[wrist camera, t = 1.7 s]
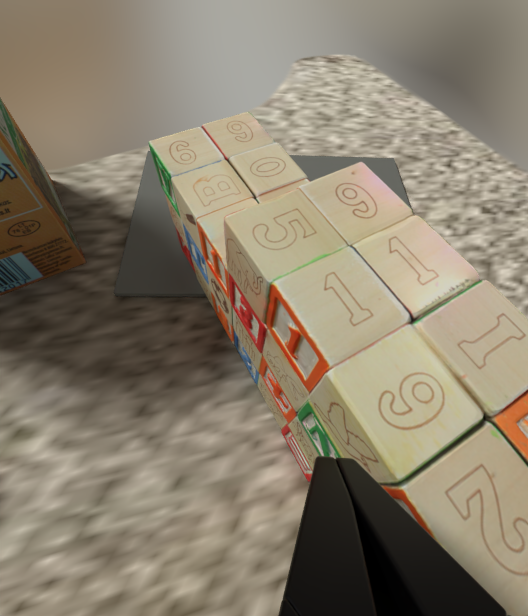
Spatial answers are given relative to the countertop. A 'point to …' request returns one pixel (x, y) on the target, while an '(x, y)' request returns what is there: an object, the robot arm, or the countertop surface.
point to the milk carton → (30, 215)
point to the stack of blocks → (364, 336)
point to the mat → (164, 241)
